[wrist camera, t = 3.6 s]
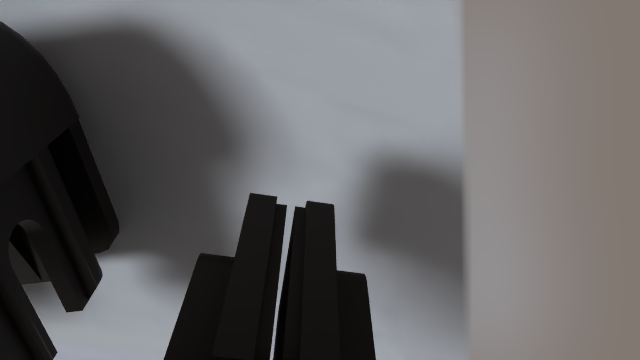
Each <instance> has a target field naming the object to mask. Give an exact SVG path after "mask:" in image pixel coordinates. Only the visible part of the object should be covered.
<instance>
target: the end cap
mask: <svg viewBox="0 0 640 360" xmlns="http://www.w3.org/2000/svg"><path fill="white" fill-rule="evenodd" d="M78 119H79V116H78V114H77V111H76V109H75V107H74V105H73V103H72V100H71V98H70V96H69V94H68V92H67V91H66V89H65V87H64V86H63V84H62V82H61V81H60V79H59V77H58V76H57V74H56V73H55V71H54V70H53V69H52V68H51V66H50V65H49V64H48V62H47V61H46V60H45V59H44V57H43V56H42V55H41V54H40V53H39V52H38V51H37V50H36V49H35V48H34V47H33V46H32V45H31V44H30V43H29V42H28V41H27V40H26V39H25V38H24V37H22V36H21V35H20V34H18V33H17V32H15V31H14V30H12V29H11V28H10V27H8V26H7V25H5V24H4V23H2V22H0V360H53V359H54V357H55V355H56V354H57V351H56V349H55V347H54V345H53V343H52V341H51V339H50V337H49V336H48V334H47V332H46V330H45V328H44V326H43V324H42V323H41V321H40V319H39V317H38V315H37V313H36V311H35V310H34V308H33V306H32V304H31V302H30V300H29V298H28V296H27V295H26V293H25V291H24V289H23V287H22V285H21V284H30V283H39V282H48V281H51V282H52V284H53V286H54V288H55V290H56V292H57V294H58V296H59V298H60V300H61V303H62V305H63V307H64V309H65V311H66V312H74V311H83V309H84V307H85V306H86V304H87V302H88V301H89V299H90V297H91V296H92V294H93V292H94V291H95V289H96V288H97V286H98V284H99V282H100V281H101V278H102V276H103V275H102V270H101V268H100V266H99V264H98V261H97V259H96V257H95V254H94V253H100V252H103V251H105V250H108V249H109V247H110V246H111V244H112V242H113V241H114V239H115V238H116V236H117V235H118V233H119V224H118V219H117V217H116V214H115V212H114V209H113V207H112V204H111V202H110V199H109V196H108V194H107V191H106V189H105V186H104V184H103V181H102V179H101V176H100V173H99V171H98V168H97V166H96V163H95V161H94V158H93V155H92V153H91V150H90V148H89V145H88V143H87V140H86V138H85V135H84V132H83V130H82V127H81V125H80V122H79V120H78Z"/></svg>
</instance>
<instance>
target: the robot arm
mask: <svg viewBox="0 0 640 360" xmlns="http://www.w3.org/2000/svg"><path fill="white" fill-rule="evenodd" d="M276 202H277V197H276V196H269V195H261V194H254V193H250V196H249V200H248V204H247V208H246V212H245V216H244V221H243V225H242V229H241V233H240V238H239V242H238V246H237V250H236V254H235V257H227V256H219V255H211V254H204V253H201V254H200V255H199V257H198V260H197V262H196V265H195V268H194V271H193V274H192V277H191V280H190V283H189V286H188V289H187V292H186V295H185V298H184V301H183V304H182V307H181V310H180V313H179V316H178V319H177V322H176V325H175V328H174V330H173V333H172V336H171V339H170V342H169V345H168V348H167V351H166V354H165V357H164V360H270V352H271V344H272V335H273V326H274V317H275V308H276V299H277V290H278V281H279V272H280V263H281V254H282V245H283V236H284V227H285V218H286V209H287V205H281V204H276ZM273 360H376V357H375V348H374V340H373V331H372V322H371V313H370V305H369V296H368V287H367V280H366V276H365V274H361V273H354V272H346V271H338V270H337V266H336V240H335V214H334V205H333V204H327V203H320V202H312V201H307V202H306V207H305V208H303V207H295V211H294V217H293V224H292V230H291V236H290V242H289V248H288V255H287V261H286V267H285V273H284V279H283V286H282V292H281V298H280V304H279V311H278V319H277V328H276V338H275V347H274V357H273Z"/></svg>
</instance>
